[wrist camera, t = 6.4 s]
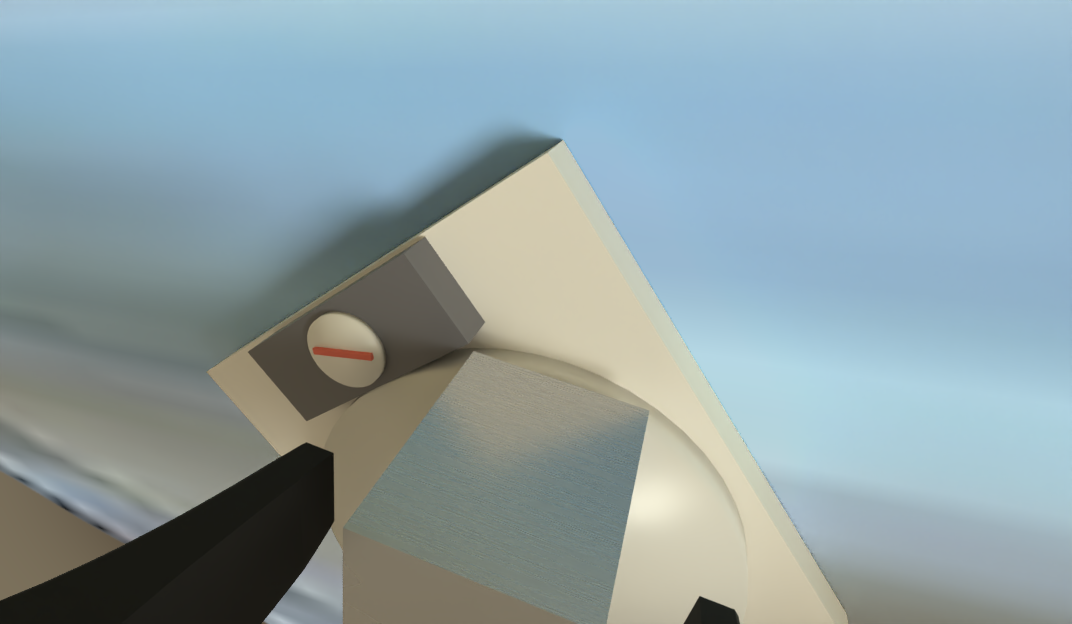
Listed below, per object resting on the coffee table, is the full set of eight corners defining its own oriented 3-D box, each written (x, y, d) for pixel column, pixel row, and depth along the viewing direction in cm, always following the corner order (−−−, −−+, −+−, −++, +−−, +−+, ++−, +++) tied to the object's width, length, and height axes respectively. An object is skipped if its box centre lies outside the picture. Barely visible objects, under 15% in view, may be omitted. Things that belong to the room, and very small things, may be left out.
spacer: (649, 410, 12) (604, 634, 8) (603, 531, 14) (548, 759, 10) (473, 350, 12) (343, 527, 8) (455, 474, 15) (342, 665, 10)
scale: (846, 613, 16) (863, 707, 14) (494, 653, 22) (469, 722, 20) (563, 140, 12) (527, 168, 10) (235, 351, 18) (170, 397, 16)
